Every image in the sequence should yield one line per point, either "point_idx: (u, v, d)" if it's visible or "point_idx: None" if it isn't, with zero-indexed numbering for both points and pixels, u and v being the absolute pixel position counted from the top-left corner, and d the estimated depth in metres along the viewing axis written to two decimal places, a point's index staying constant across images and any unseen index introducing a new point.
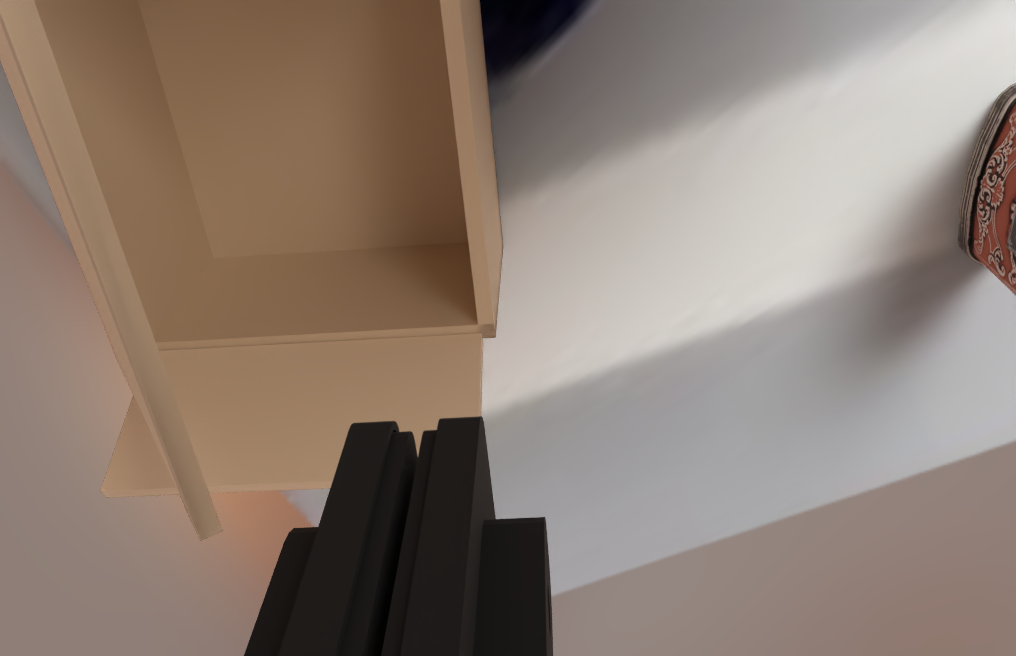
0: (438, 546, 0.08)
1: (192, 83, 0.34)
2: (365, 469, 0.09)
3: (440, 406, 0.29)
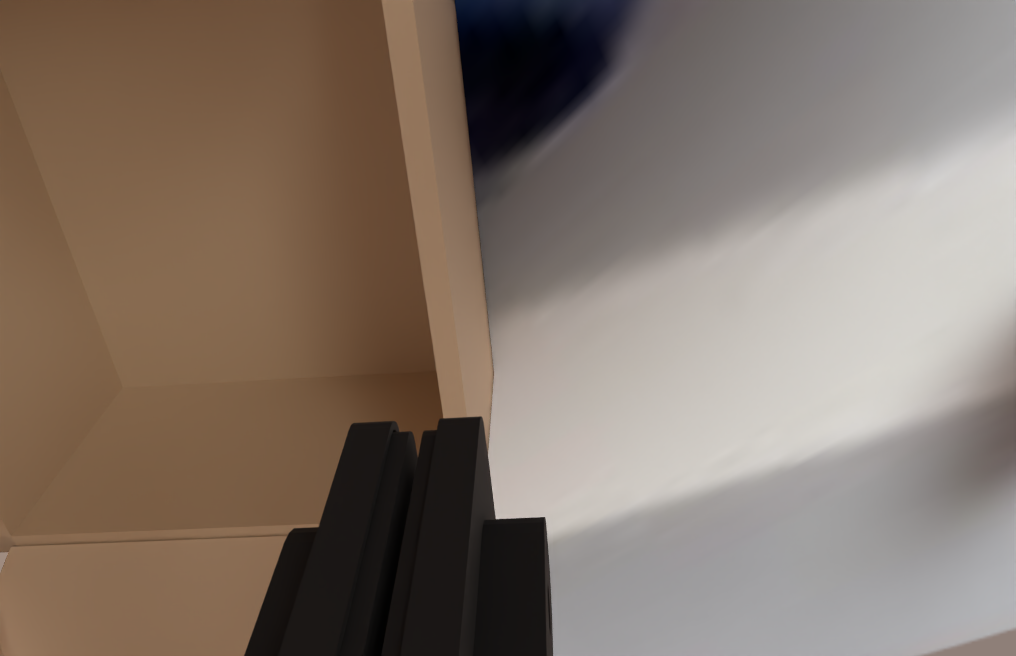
0: (438, 546, 0.08)
1: (82, 175, 0.26)
2: (365, 469, 0.09)
3: None
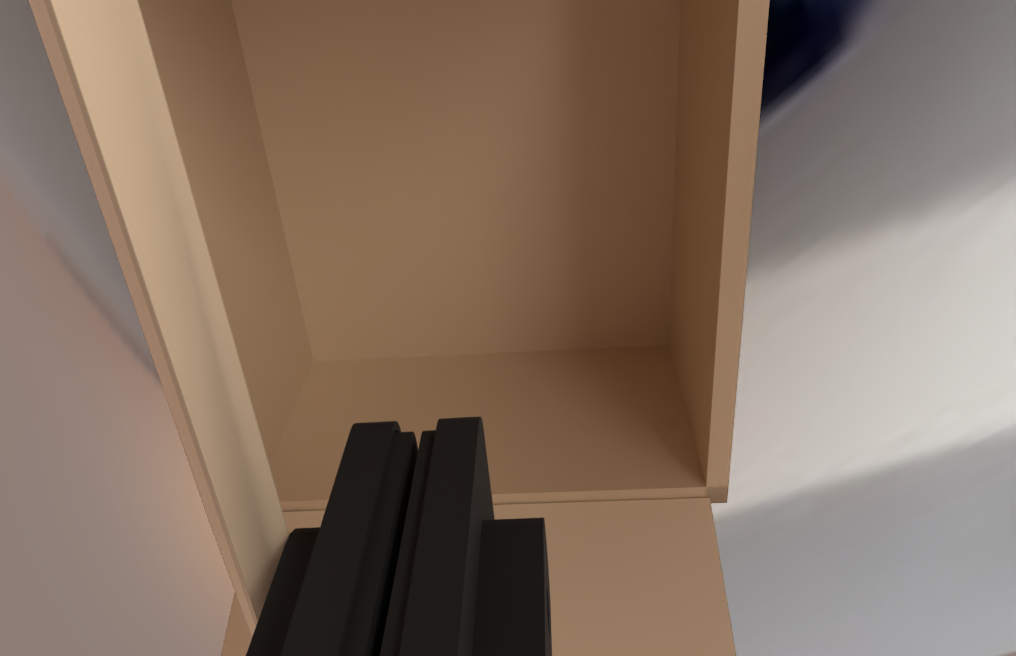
0: (437, 546, 0.08)
1: (305, 146, 0.26)
2: (367, 469, 0.09)
3: (672, 614, 0.21)
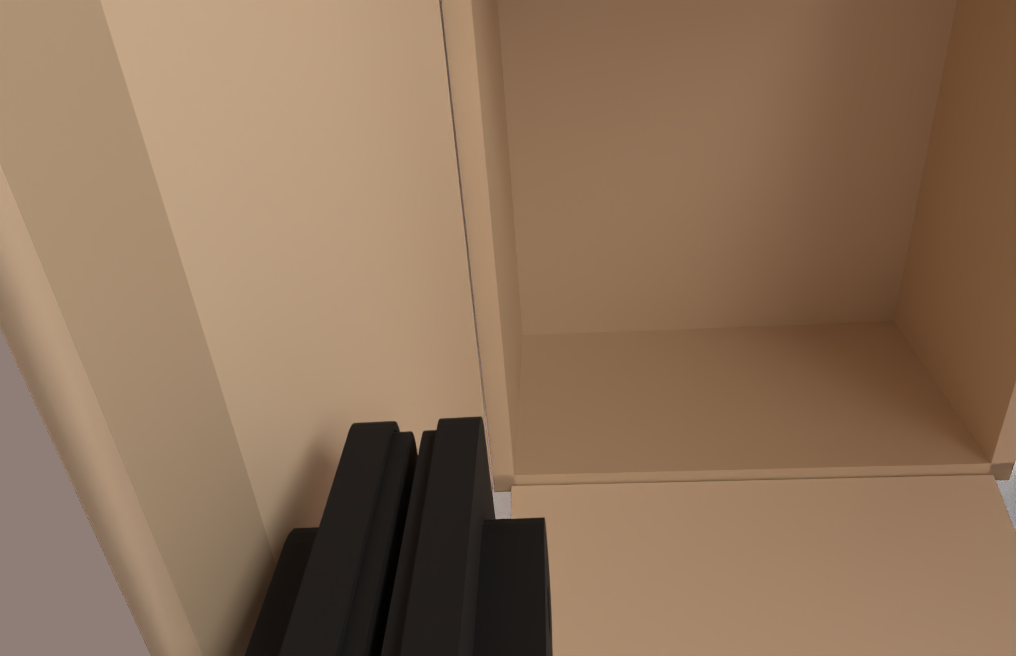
0: (438, 546, 0.08)
1: (548, 112, 0.25)
2: (365, 469, 0.09)
3: (979, 592, 0.20)
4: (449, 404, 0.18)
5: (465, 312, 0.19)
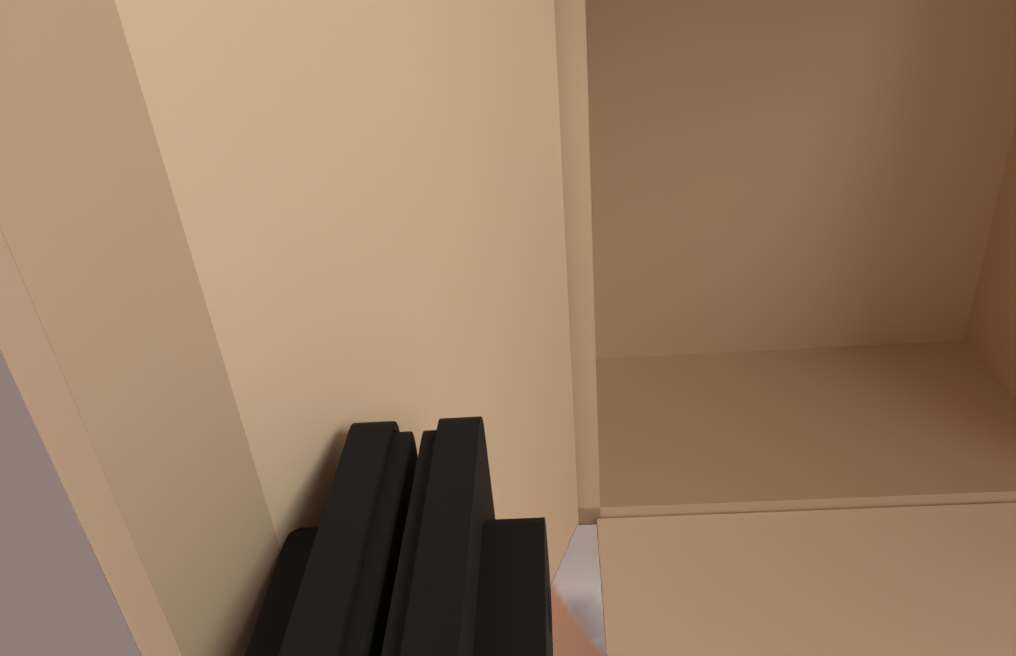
0: (438, 546, 0.08)
1: (620, 134, 0.25)
2: (365, 469, 0.09)
3: None
4: (530, 438, 0.17)
5: (559, 343, 0.19)
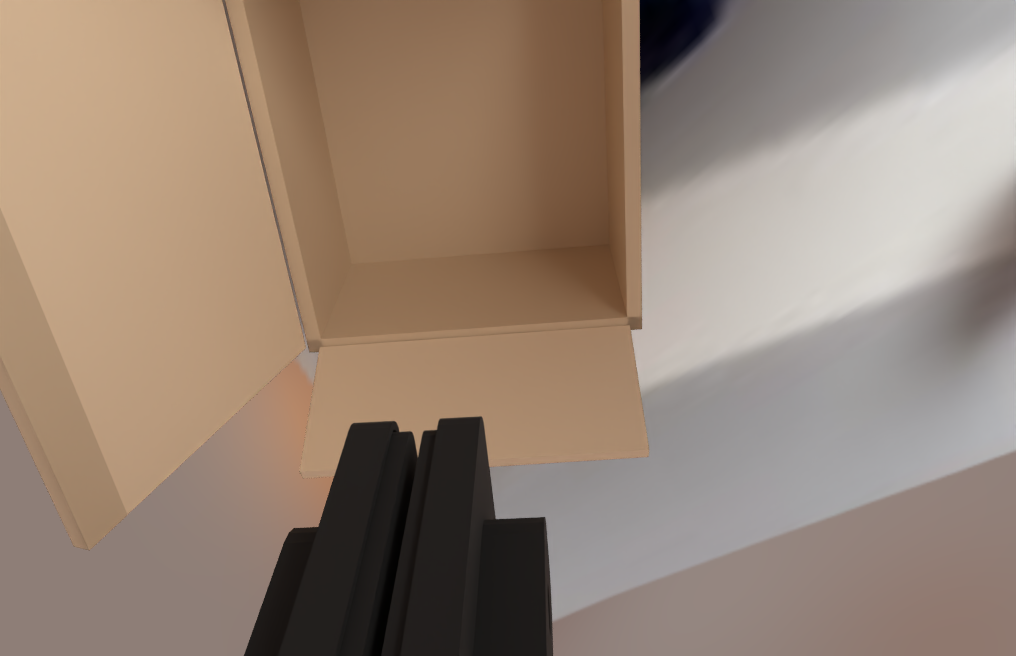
0: (438, 546, 0.08)
1: (347, 101, 0.37)
2: (365, 469, 0.09)
3: (603, 390, 0.32)
4: (234, 268, 0.30)
5: (262, 218, 0.31)
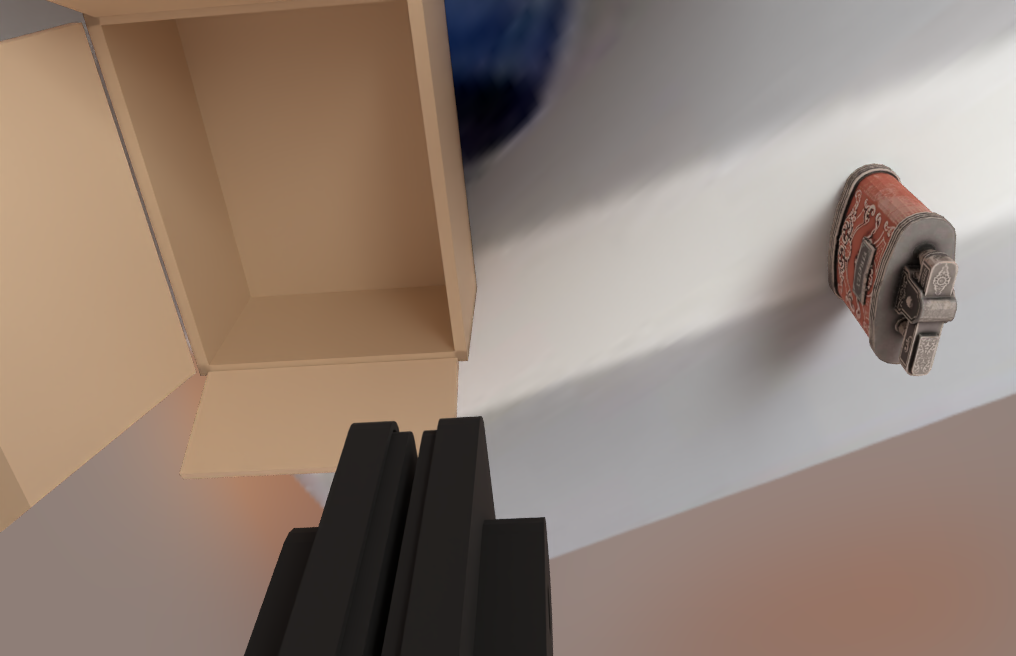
0: (438, 546, 0.08)
1: (238, 167, 0.45)
2: (365, 469, 0.09)
3: (426, 412, 0.40)
4: (125, 314, 0.38)
5: (151, 272, 0.39)
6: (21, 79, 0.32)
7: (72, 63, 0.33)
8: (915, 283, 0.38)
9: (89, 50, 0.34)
